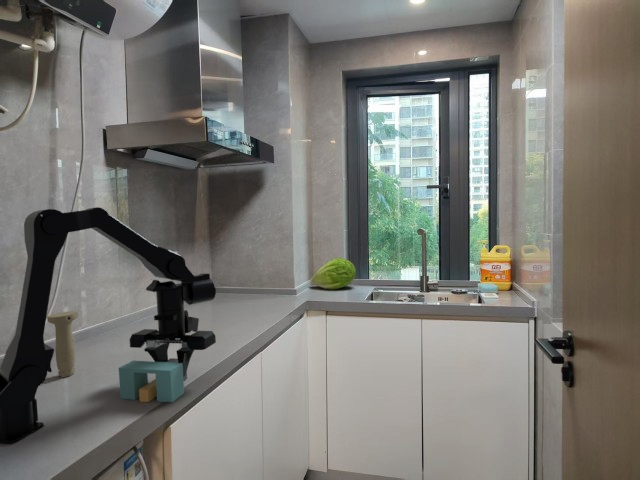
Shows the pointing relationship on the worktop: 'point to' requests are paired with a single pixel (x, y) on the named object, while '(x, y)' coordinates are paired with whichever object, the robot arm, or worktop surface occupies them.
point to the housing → (166, 379)
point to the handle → (64, 341)
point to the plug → (153, 387)
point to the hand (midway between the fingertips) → (174, 376)
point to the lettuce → (335, 274)
